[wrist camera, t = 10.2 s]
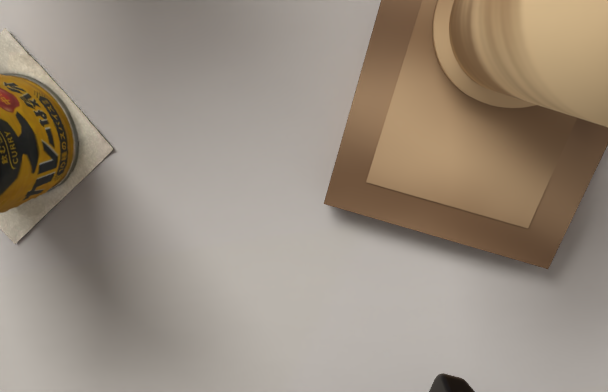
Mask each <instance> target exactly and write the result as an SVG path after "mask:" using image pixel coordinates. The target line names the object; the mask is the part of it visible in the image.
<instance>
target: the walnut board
mask: <svg viewBox="0 0 608 392" xmlns="http://www.w3.org/2000/svg"><path fill="white" fill-rule="evenodd" d="M436 3H437V0H381V3H380V7H379V10H378V14H377V17H376V21H375V24H374V28H373V31H372V35H371V38H370V42H369V45H368V49H367V53H366V56H365V60H364V63H363V67H362V70H361V74H360V77H359V81H358V84H357V88H356V91H355V95H354V99H353V102H352V106H351V109H350V113H349V116H348V120H347V123H346V127H345V130H344V134H343V137H342V141H341V145H340V148H339V152H338V155H337V159H336V162H335V166H334V169H333V173H332V176H331V180H330V183H329V187H328V191H327V194H326V198H325V201H324V204H326V205H330V206H333V207H337V208H340V209H344V210H347V211H350V212H354V213H357V214H361V215H364V216H368V217H371V218H374V219H378V220H381V221H385V222H388V223H392V224H395V225H398V226H402V227H405V228H409V229H412V230H416V231H419V232H422V233H426V234H429V235H433V236H436V237H440V238H443V239H446V240H450V241H453V242H457V243H460V244H464V245H467V246H470V247H474V248H477V249H481V250H484V251H488V252H491V253H494V254H498V255H501V256H505V257H508V258H512V259H515V260H519V261H522V262H525V263H529V264H532V265H536V266H539V267H543V268H546V269H548V268H549V266H550V264H551V262H552V260H553V258H554V256H555V254H556V252H557V250H558V247H559V245H560V243H561V241H562V239H563V237H564V235H565V233H566V231H567V229H568V227H569V224H570V222H571V220H572V218H573V216H574V214H575V212H576V210H577V208H578V206H579V203H580V201H581V199H582V197H583V195H584V193H585V191H586V189H587V187H588V185H589V183H590V180H591V178H592V176H593V174H594V172H595V170H596V168H597V166H598V164H599V162H600V160H601V157H602V155H603V153H604V151H605V149H606V147H607V145H608V127H605V126H602V125H599V124H596V123H593V122H589V121H586V120H583V119H580V118H577V117H574V116H570V115H567V114H564V113H561V112H558V111H555V110H552V109H548V108H545V107H542V106H539V105H535V106H529V107H523V108H504V107H497V106H492V105H489V104H486V103H483V102H480V101H478V100H476V99H474V98H472V97H470V96H468V95H466V94H465V93H463V92H462V91H461V90H459V89H458V88H457V87H456V86H455V85H454V84H453V83H452V82H451V81H450V80H449V79H448V78H447V76H446V75H445V74H444V72H443V70H442V69H441V67H440V65H439V62H438V60H437V58H436V55H435V51H434V47H433V40H432V22H433V14H434V10H435V6H436Z"/></svg>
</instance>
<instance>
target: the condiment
mask: <svg viewBox="0 0 608 392" xmlns="http://www.w3.org/2000/svg"><path fill="white" fill-rule="evenodd" d="M112 150H113V148H112V147H111V145H110V144H109V143H108V142H107V141H106V140H105V139H104V137H103V136H102V135H101V134H100V133H99V132H98V131H97V129H96V128H95V127H94V126H93V125H92V124H91V123H90V122H89V120H88V119H87V117H86V116H85V115H84V114H83V113H82V112H81V111H80V109H79V108H78V107H77V106H76V105H75V104H74V103H73V102H72V100H71V99H70V98H69V97H68V96H67V95H66V94H65V92H64V91H63V90H62V89H61V88H60V87H59V86H58V85H57V84H56V83H55V82H54V80H53V79H52V78H50V76H49V75H48V74H47V73H46V72H45V71H44V70H43V68H42V67H41V66H40V65H39V64H38V63H37V62H36V61H35V60H34V59H33V58H32V57H31V56H30V55H28V53H27V52H26V51H25V50H24V49H23V48H22V46H21V45H20V44H19V43H18V42H17V41H16V40H15V39H14V38H13V37H12V35H11V34H10V33H9V32H8V31H7V29H6V28H5V29H4V30H3V31H2V32H1V33H0V229H1V230H2V231H3V232H4V233H5V234H6V235H7V236H8V237H9V238H10V239H11V240H12V241H13V242H14V243H15V244H16V243H17V242H18V241H19V240H20V239H21V238H22V237H23V236H24V235H25V234H26V233H27V232H28V231H30V230H31V229H32V228H33V226H34V225H35V224H36V223H38V222H39V221H40V220H41V219H42V218H43V217H44V216H45V215H46V214H47V213H48V212H49V211H50V210H51V209H52V208H53V207H54V206H55V205H56V204H58V203H59V202H60V201H61V200H62V199H63V198H64V197H65V196H66V195H67V194H68V193H69V192H70V191H71V190H72V189H73V188H74V187H75V186H76V185H77V184H78V183H80V182H81V181H82V180H83V179H84V178H85V177H86V176H87V175H88V174H89V173H90V172H91V171H92V170H93V169H94V168H95V167H96V166H97V165H98V164H99V163H100V162H101V161H102V160H103V159H104V158H105V157H106V156H107V155H108V154H109V153H110V152H111V151H112Z"/></svg>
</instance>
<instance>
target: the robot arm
mask: <svg viewBox="0 0 608 392" xmlns="http://www.w3.org/2000/svg"><path fill="white" fill-rule="evenodd" d="M429 392H474V390H473V389H472V388H471V387H470V386H469V384H468V383H467V382H466V381H465V380H464V379H462V378H459V377H455V376H451V375H447V374H439V375H438V376H437V377H436V378H435V380H434V382H433V384H432V387H431V389H430V391H429Z"/></svg>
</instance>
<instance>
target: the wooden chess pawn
mask: <svg viewBox="0 0 608 392" xmlns="http://www.w3.org/2000/svg"><path fill="white" fill-rule="evenodd" d="M432 40H433V47H434V51H435V55H436V58H437V60H438V62H439V65H440V67H441V69H442V70H443V72H444V74H445V75H446V76H447V78H448V79H449V80H450V81H451V82H452V83H453V84H454V85H455V86H456V87H457V88H458V89H459V90H461V91H462V92H463V93H465V94H466V95H468V96H470V97H472V98H474V99H476V100H478V101H480V102H483V103H486V104H489V105H492V106H497V107H504V108H523V107H529V106H535V105H539V106H542V107H545V108H548V109H552V110H555V111H558V112H561V113H564V114H567V115H570V116H574V117H577V118H580V119H583V120H586V121H589V122H593V123H596V124H599V125H602V126H605V127H608V0H437V3H436V6H435V10H434V14H433V22H432Z"/></svg>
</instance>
